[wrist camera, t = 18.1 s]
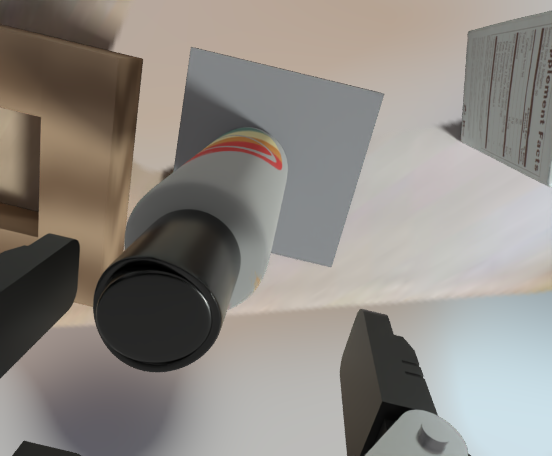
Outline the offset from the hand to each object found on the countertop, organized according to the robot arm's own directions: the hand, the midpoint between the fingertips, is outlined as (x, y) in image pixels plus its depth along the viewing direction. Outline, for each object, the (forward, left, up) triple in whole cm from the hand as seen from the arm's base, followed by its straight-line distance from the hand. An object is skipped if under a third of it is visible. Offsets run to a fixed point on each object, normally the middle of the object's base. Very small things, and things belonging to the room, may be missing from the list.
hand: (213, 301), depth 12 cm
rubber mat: (0, 0, -21) cm, 21 cm away
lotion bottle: (+1, -2, -20) cm, 20 cm away
